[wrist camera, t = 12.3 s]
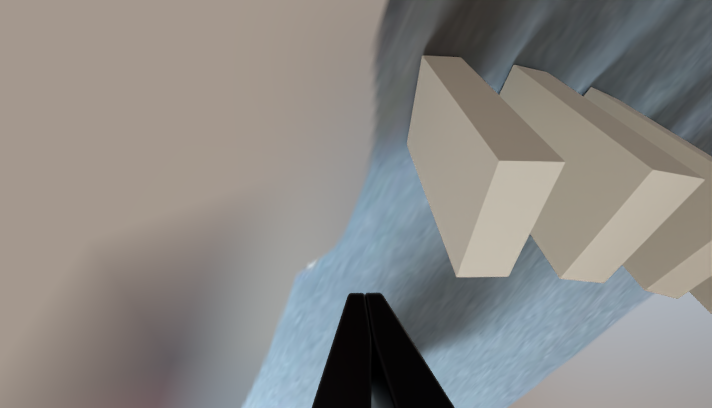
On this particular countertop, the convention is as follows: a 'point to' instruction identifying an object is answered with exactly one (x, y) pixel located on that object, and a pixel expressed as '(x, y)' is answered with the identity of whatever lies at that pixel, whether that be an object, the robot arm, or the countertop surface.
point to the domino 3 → (684, 226)
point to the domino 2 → (595, 179)
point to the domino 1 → (477, 167)
